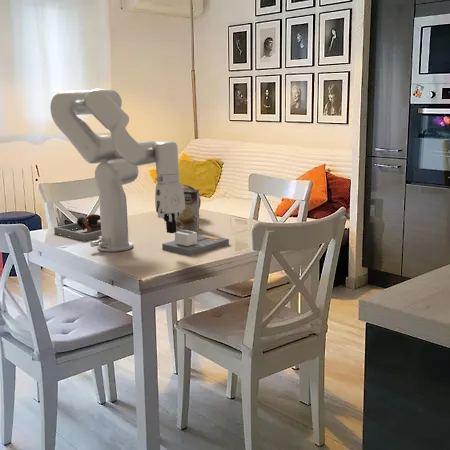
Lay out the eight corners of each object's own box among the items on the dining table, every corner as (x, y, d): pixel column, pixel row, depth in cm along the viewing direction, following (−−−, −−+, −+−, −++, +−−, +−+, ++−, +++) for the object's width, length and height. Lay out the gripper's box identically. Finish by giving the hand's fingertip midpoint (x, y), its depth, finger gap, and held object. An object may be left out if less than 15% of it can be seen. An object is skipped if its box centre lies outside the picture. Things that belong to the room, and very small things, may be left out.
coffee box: (175, 231, 238) (173, 191, 235) (177, 227, 245) (176, 189, 241) (197, 231, 237) (196, 191, 234) (199, 227, 244) (199, 189, 240)
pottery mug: (108, 230, 244) (109, 215, 238) (99, 245, 237) (100, 230, 231) (80, 222, 244) (80, 207, 239) (71, 237, 237) (71, 222, 232)
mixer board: (190, 256, 202) (190, 250, 201) (162, 249, 211) (162, 243, 210) (228, 244, 217) (228, 238, 216) (200, 238, 226) (200, 233, 225)
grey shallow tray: (84, 241, 224) (84, 234, 223) (54, 233, 237) (54, 227, 236) (122, 232, 237) (121, 226, 237) (91, 225, 250) (91, 219, 250)
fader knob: (187, 246, 206) (186, 233, 205) (175, 243, 210) (174, 230, 209) (197, 243, 209) (196, 230, 208) (185, 240, 213) (184, 228, 212)
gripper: (159, 182, 190) (163, 238, 194) (191, 176, 201) (194, 229, 205) (143, 181, 195) (147, 235, 199) (176, 175, 206) (179, 227, 210)
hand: (171, 232), depth 202 cm, fingers closed
